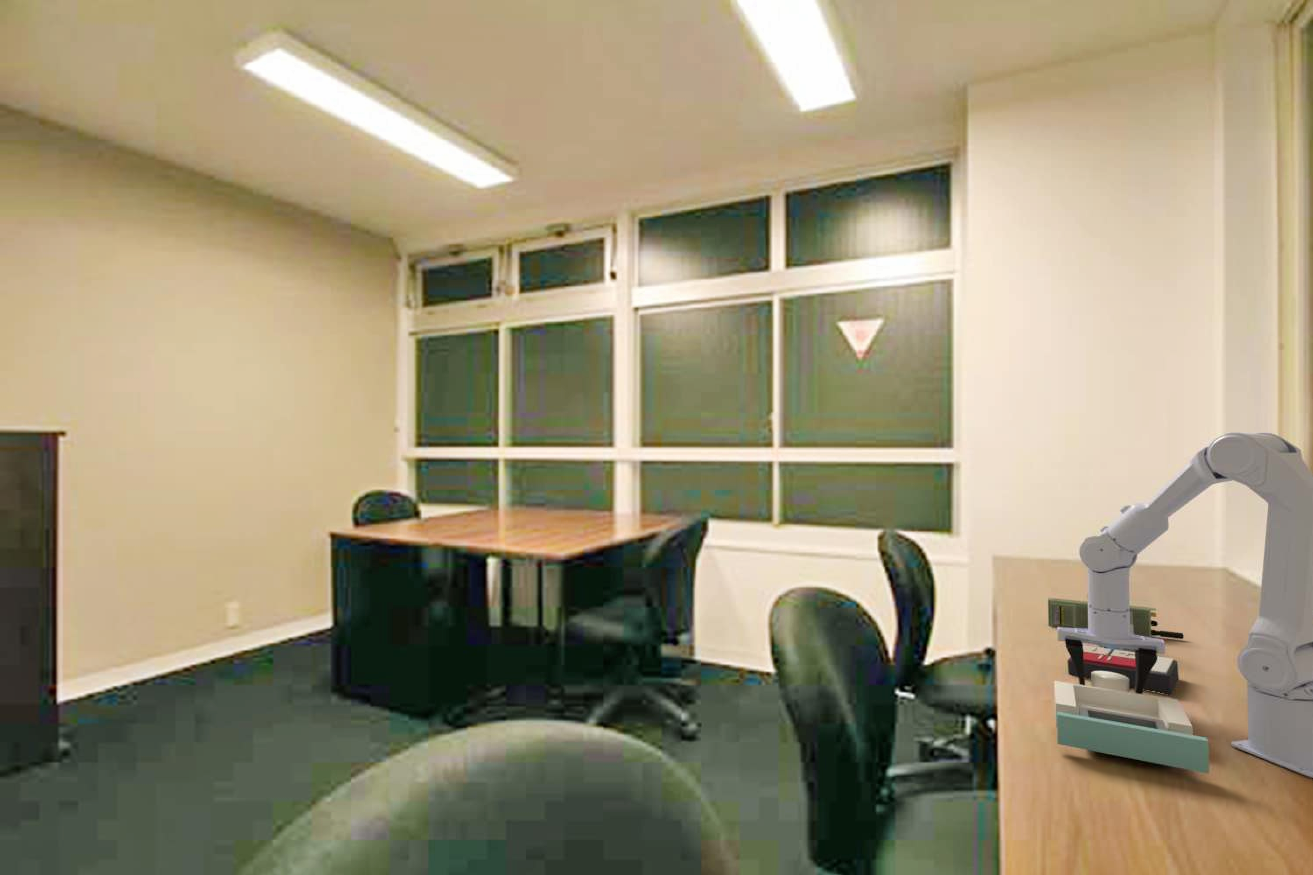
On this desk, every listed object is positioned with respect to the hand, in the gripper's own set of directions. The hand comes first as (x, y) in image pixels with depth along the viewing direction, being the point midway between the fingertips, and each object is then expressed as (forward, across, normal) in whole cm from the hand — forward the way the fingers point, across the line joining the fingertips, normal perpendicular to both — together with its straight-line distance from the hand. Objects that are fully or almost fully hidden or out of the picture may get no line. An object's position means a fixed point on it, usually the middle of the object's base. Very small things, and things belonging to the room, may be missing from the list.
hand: (1109, 689), depth 106 cm
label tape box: (+2, -3, -35) cm, 35 cm away
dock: (+2, 0, +12) cm, 12 cm away
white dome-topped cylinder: (+2, 0, 0) cm, 2 cm away
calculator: (+2, -3, -14) cm, 15 cm away
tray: (0, 0, +21) cm, 21 cm away
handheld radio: (+2, -4, -48) cm, 48 cm away
